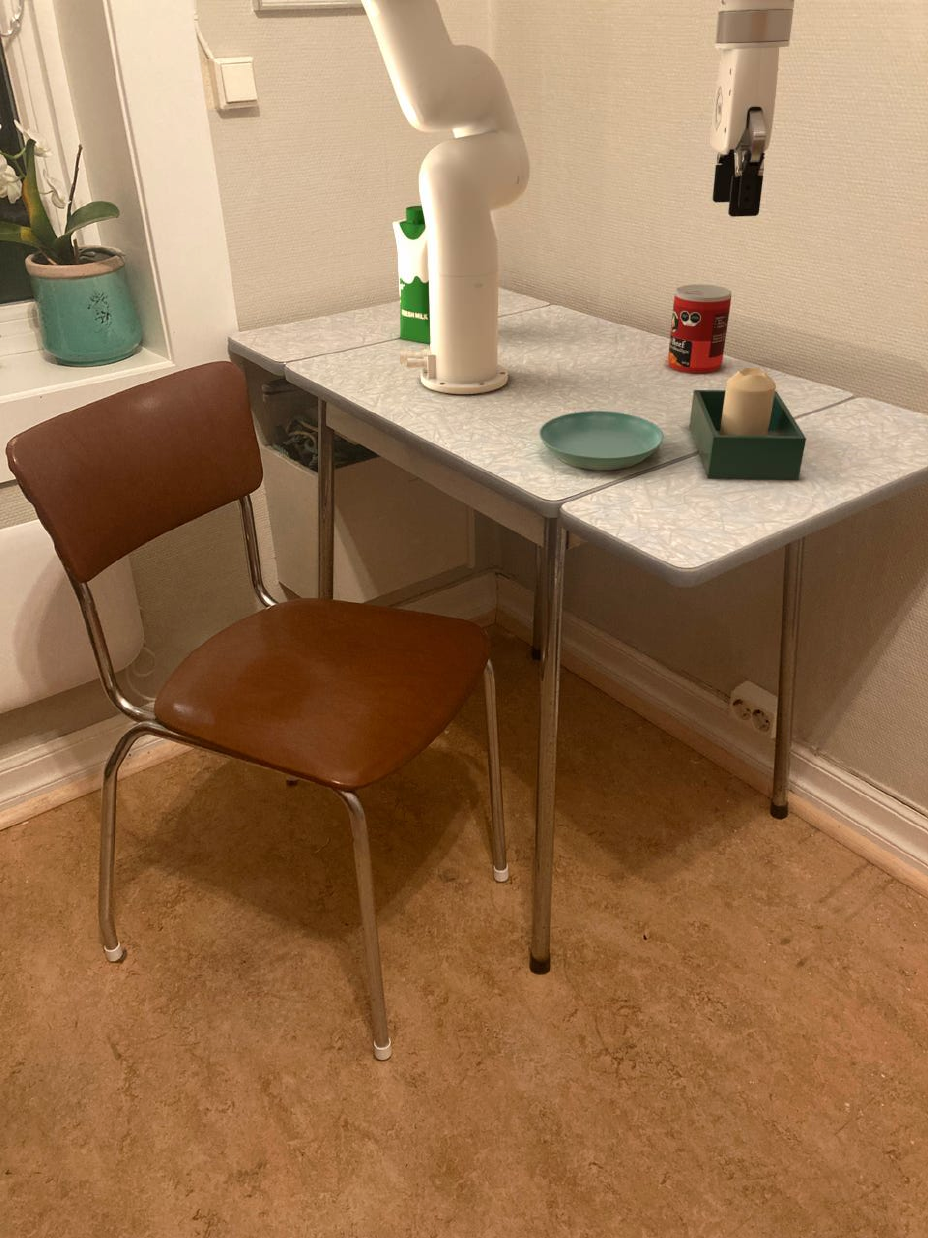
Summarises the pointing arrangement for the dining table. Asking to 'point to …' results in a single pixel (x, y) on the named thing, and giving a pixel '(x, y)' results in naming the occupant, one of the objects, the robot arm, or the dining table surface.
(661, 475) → the dining table surface
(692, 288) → the canned food
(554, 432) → the saucer
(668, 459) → the dining table surface
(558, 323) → the dining table surface
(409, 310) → the milk carton
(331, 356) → the dining table surface
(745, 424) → the candle
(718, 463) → the case
